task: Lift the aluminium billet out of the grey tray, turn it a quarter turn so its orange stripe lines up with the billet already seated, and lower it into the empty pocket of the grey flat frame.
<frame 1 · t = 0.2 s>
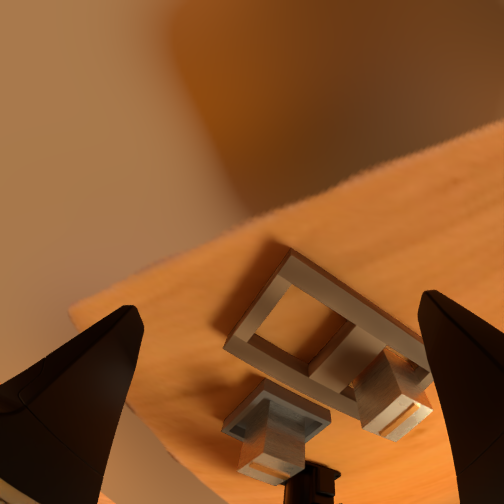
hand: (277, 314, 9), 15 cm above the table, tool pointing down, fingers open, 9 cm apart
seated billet: (381, 371, 26), resting in grey flat frame
grey tray: (275, 417, 29), on the table
grey flat frame: (344, 349, 26), on the table
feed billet: (275, 420, 28), resting on grey tray
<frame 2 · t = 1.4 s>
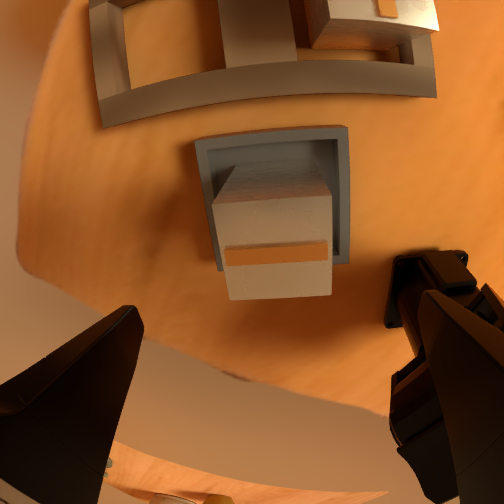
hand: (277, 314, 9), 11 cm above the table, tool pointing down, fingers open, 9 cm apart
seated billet: (343, 16, 13), resting in grey flat frame
grey tray: (277, 194, 18), on the table
jug: (175, 499, 61), on the table
grey flat frame: (256, 18, 13), on the table
soupspoon: (103, 461, 52), on the table
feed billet: (277, 196, 18), resting on grey tray
flower pot: (221, 496, 52), on the table
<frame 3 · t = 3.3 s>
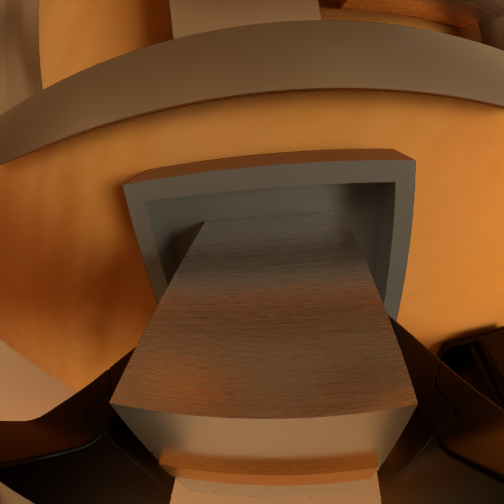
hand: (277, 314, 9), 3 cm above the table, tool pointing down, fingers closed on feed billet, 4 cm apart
grey tray: (278, 267, 11), on the table
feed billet: (278, 273, 11), resting on grey tray, touching gripper
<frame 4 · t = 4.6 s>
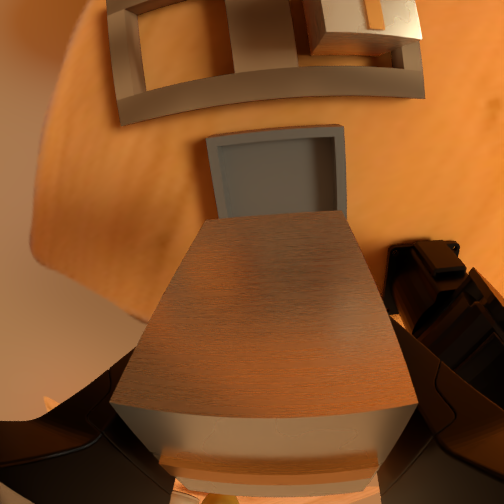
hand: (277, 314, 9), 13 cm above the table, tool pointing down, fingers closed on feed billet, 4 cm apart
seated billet: (340, 24, 14), resting in grey flat frame
grey tray: (281, 187, 20), on the table
jug: (178, 494, 62), on the table
grey flat frame: (261, 27, 15), on the table
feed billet: (278, 273, 11), point 11 cm above the table, touching gripper
flower pot: (223, 490, 54), on the table
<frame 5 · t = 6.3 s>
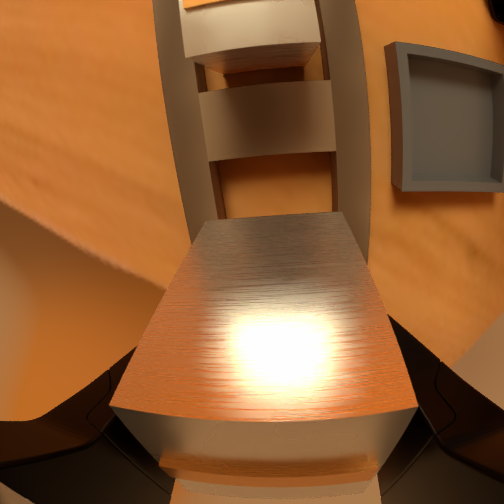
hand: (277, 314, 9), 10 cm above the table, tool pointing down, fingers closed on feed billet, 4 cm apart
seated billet: (258, 33, 13), resting in grey flat frame
grey tray: (449, 118, 14), on the table
grey flat frame: (269, 117, 15), on the table
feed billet: (278, 274, 11), point 8 cm above the table, touching gripper
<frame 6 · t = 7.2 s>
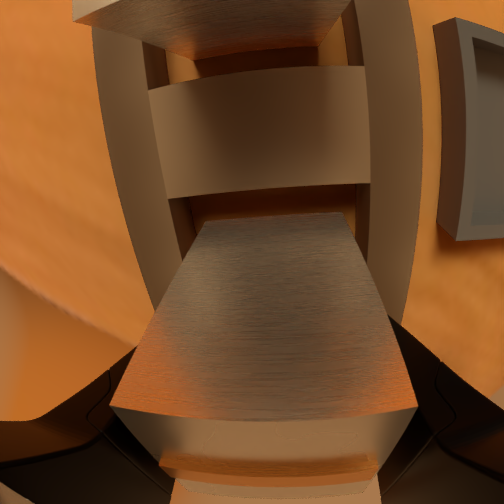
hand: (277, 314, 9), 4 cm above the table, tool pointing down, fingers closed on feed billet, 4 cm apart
grey flat frame: (263, 124, 10), on the table
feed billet: (278, 274, 11), point 2 cm above the table, touching gripper
when the fingers open (3 cm above the table, at t = 8.2 s): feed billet stays where it is, resting in grey flat frame.
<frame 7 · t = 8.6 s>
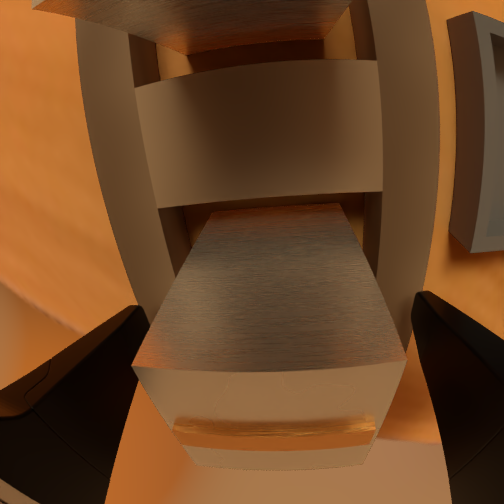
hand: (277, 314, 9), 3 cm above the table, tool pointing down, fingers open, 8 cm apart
grey flat frame: (263, 125, 9), on the table
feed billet: (280, 262, 11), resting in grey flat frame
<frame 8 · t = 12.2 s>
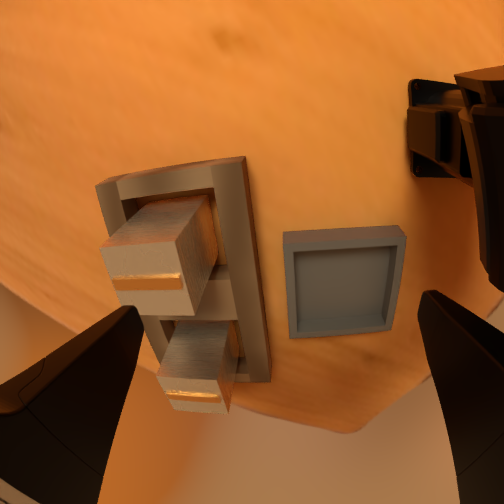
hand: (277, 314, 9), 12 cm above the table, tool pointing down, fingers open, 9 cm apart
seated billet: (183, 227, 21), resting in grey flat frame
grey tray: (341, 278, 22), on the table
grey flat frame: (197, 286, 23), on the table
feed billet: (211, 332, 26), resting in grey flat frame
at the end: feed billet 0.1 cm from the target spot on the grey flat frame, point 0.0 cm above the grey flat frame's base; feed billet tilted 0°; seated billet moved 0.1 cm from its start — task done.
